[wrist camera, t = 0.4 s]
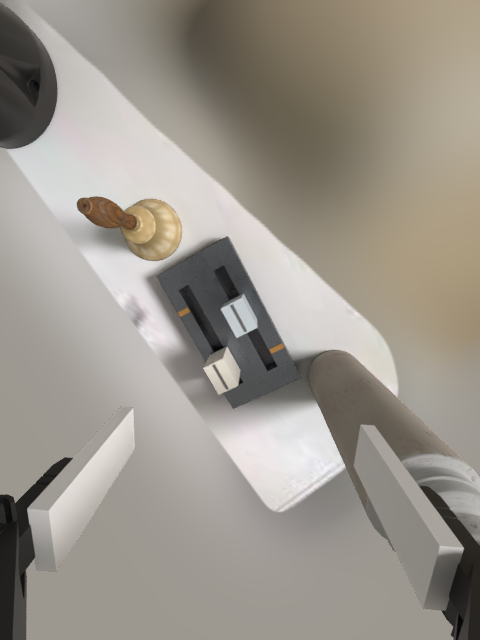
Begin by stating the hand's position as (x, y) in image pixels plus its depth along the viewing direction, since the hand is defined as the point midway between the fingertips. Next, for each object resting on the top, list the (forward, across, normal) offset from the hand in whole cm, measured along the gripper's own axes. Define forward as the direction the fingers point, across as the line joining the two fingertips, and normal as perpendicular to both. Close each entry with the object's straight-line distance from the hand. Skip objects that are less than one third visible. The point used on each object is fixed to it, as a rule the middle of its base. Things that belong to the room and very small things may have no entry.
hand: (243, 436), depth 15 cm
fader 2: (+24, -3, -4) cm, 24 cm away
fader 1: (+24, -1, +3) cm, 24 cm away
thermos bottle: (+25, +13, -6) cm, 29 cm away
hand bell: (+25, -14, +13) cm, 32 cm away
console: (+25, -3, +1) cm, 25 cm away
